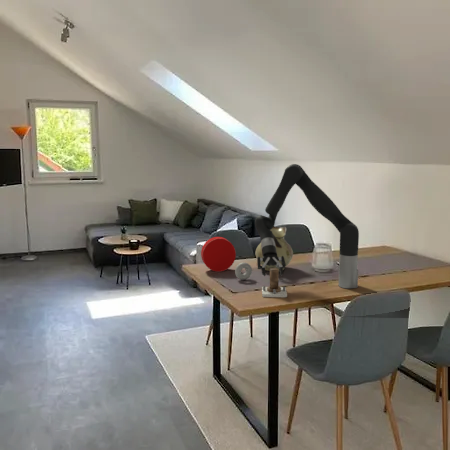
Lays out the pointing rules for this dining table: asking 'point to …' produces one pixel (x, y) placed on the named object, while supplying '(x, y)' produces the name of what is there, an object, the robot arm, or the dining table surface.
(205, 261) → the red round disc
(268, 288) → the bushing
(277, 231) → the tied beige sack
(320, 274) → the dining table surface
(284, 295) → the locating plate
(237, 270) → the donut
